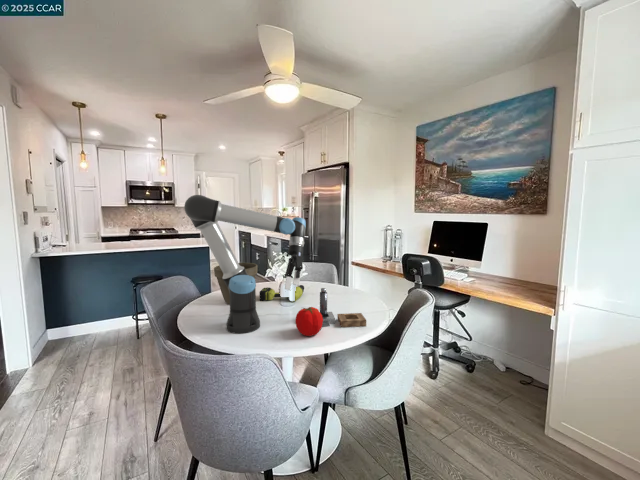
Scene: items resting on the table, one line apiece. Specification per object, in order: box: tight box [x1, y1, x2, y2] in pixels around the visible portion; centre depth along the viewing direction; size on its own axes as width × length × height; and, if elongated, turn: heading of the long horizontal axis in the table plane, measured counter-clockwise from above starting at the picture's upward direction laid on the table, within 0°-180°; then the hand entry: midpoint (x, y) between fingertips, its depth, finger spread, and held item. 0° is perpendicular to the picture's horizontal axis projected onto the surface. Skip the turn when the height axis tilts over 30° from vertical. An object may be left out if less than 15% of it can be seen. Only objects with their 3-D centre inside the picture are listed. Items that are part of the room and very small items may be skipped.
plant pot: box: [213, 262, 258, 305], centre depth 177 cm, size 25×25×22 cm
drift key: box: [322, 323, 331, 328], centre depth 139 cm, size 8×2×1 cm, turn 111°
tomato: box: [294, 306, 323, 337], centre depth 131 cm, size 12×13×12 cm
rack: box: [336, 312, 367, 328], centre depth 143 cm, size 12×10×3 cm
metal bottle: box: [319, 287, 328, 317], centre depth 146 cm, size 4×4×16 cm
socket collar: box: [322, 311, 336, 325], centre depth 147 cm, size 10×10×2 cm
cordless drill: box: [259, 284, 305, 302], centre depth 189 cm, size 7×25×25 cm
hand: (291, 287), depth 146 cm, fingers open, 13 cm apart
